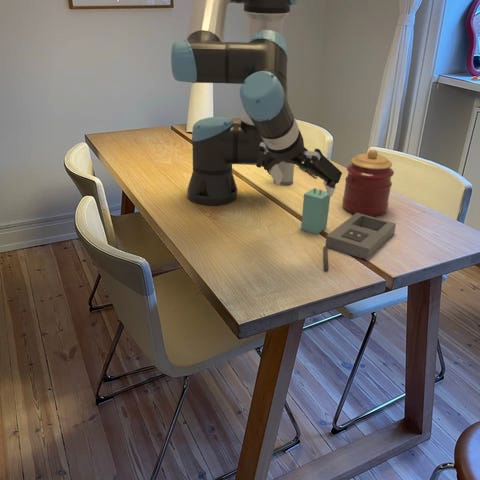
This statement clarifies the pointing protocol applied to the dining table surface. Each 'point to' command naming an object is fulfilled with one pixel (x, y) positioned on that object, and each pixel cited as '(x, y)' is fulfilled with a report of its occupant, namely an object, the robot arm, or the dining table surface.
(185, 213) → the dining table surface
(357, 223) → the grey flat block
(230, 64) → the robot arm
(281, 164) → the travel mug
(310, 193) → the charger block
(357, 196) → the canister
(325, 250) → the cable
